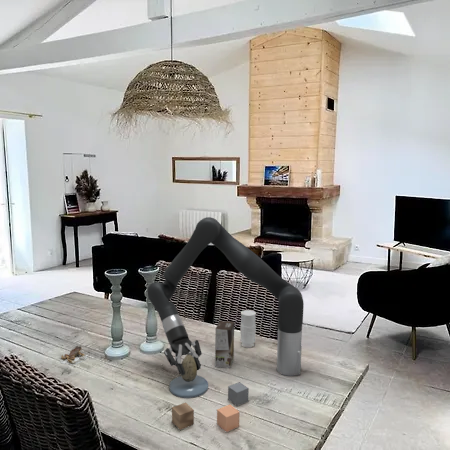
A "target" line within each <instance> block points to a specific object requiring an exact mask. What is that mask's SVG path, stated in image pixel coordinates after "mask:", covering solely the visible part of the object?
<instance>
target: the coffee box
mask: <svg viewBox="0 0 450 450" xmlns="http://www.w3.org/2000/svg"><path fill="white" fill-rule="evenodd" d="M214 337H215V338H214V339H215V340H214V341H215V342H214V343H215V345H214V346H215V348H214V349H215V350H214V351H215V352H214V367H216V368H217V367H218V368H225V369H226V368H227V369H230V368H231V366H232V365H233V361H234V358H235V322H234V321H228V320H227V321H222V320H220V321H219V322H218V324H217V325H216V327H215V335H214Z"/></svg>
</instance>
